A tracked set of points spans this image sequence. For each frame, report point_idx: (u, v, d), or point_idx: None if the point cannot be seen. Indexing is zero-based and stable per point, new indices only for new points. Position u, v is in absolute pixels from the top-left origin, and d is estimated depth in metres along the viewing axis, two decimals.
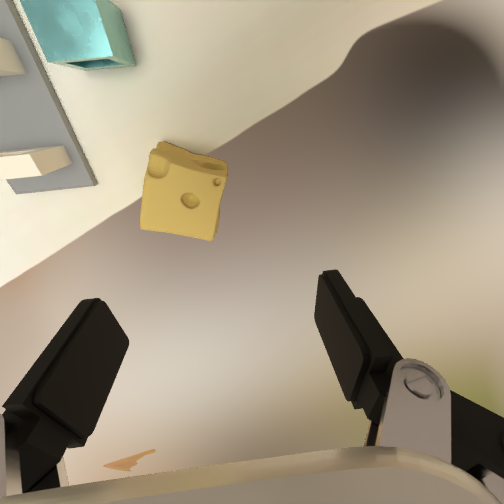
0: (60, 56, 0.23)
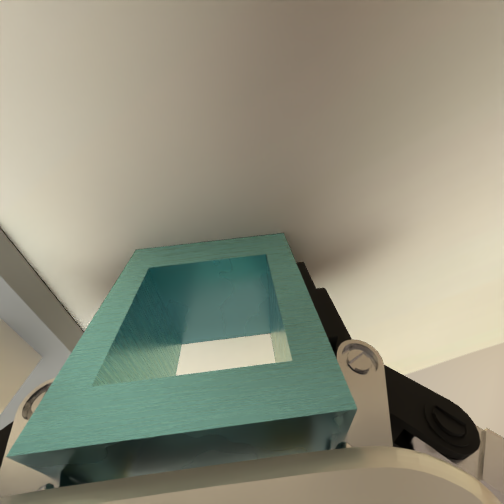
0: None
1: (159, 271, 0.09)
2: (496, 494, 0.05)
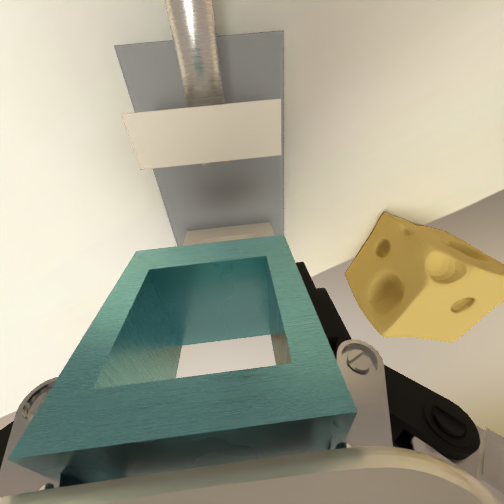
0: None
1: (160, 272, 0.09)
2: (496, 494, 0.05)
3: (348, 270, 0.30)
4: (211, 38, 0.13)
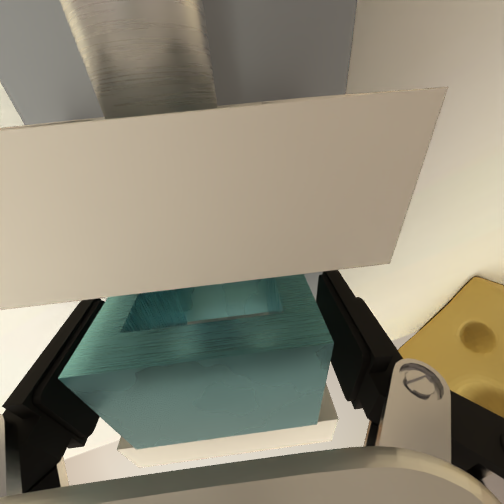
0: (174, 440, 0.08)
1: None
2: None
3: (404, 349, 0.21)
4: None
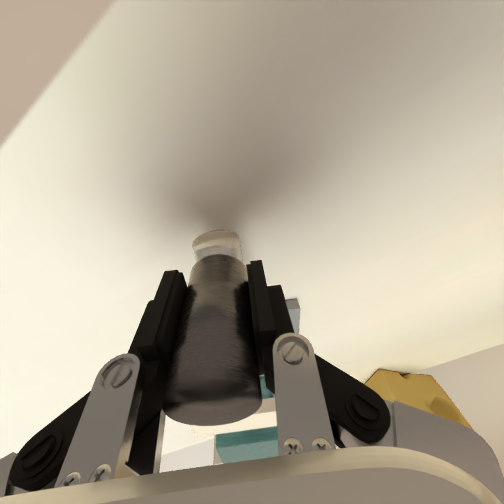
0: None
1: None
2: None
3: None
4: None
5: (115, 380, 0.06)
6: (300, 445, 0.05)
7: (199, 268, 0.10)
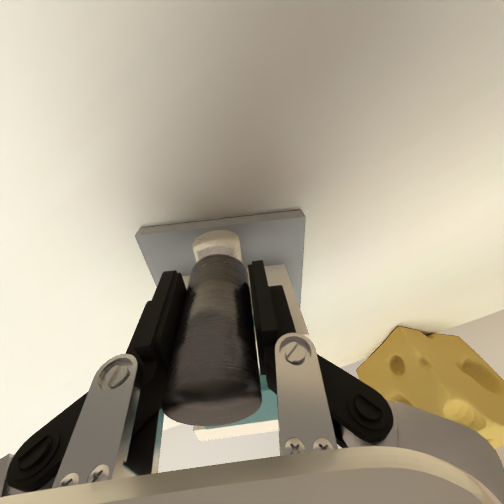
0: (223, 425, 0.17)
1: None
2: None
3: (360, 369, 0.30)
4: None
5: (113, 381, 0.06)
6: (302, 445, 0.05)
7: (199, 268, 0.10)
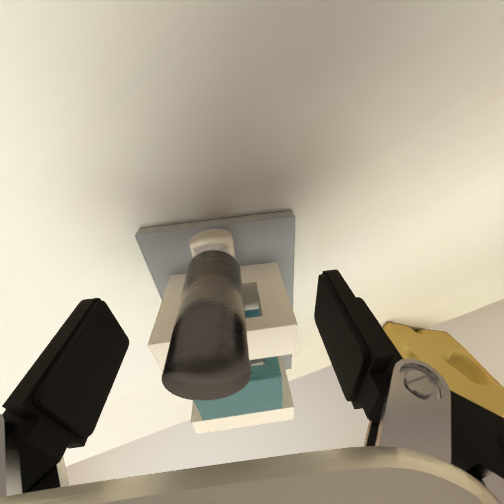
0: (220, 416, 0.18)
1: None
2: None
3: None
4: None
5: None
6: None
7: (195, 262, 0.11)
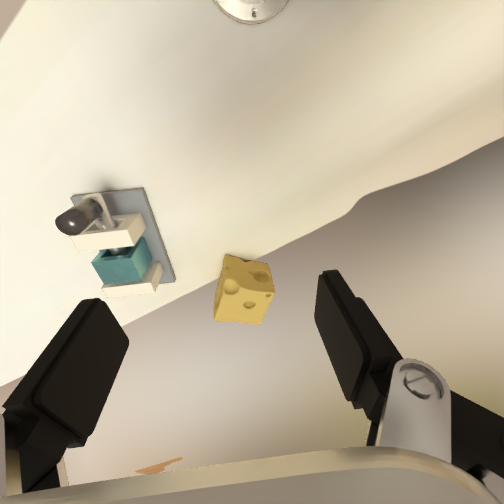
0: (111, 282, 0.40)
1: None
2: None
3: (217, 285, 0.53)
4: None
5: None
6: None
7: (80, 202, 0.33)
